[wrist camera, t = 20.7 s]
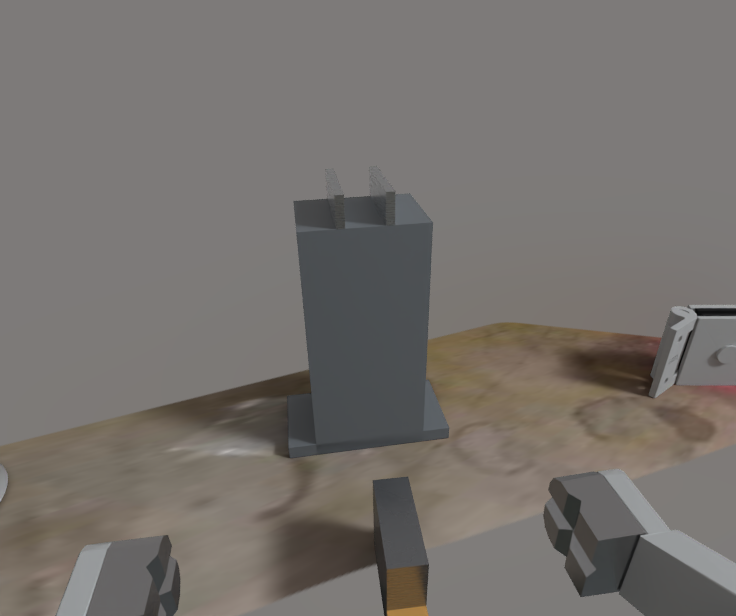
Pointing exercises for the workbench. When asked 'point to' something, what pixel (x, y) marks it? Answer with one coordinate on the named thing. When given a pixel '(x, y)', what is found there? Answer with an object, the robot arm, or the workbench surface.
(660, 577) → the robot arm
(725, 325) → the hinge
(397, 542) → the bar
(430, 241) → the stand
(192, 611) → the workbench surface
